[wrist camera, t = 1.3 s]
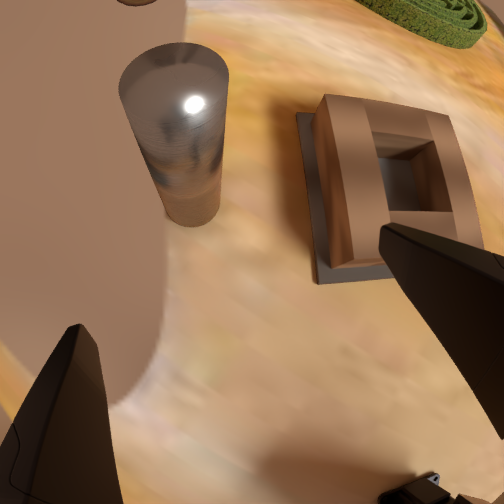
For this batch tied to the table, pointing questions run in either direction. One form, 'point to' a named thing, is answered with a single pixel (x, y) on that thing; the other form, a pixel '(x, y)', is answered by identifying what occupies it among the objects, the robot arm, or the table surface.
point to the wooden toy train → (136, 2)
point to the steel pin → (180, 125)
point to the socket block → (380, 182)
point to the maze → (435, 19)
